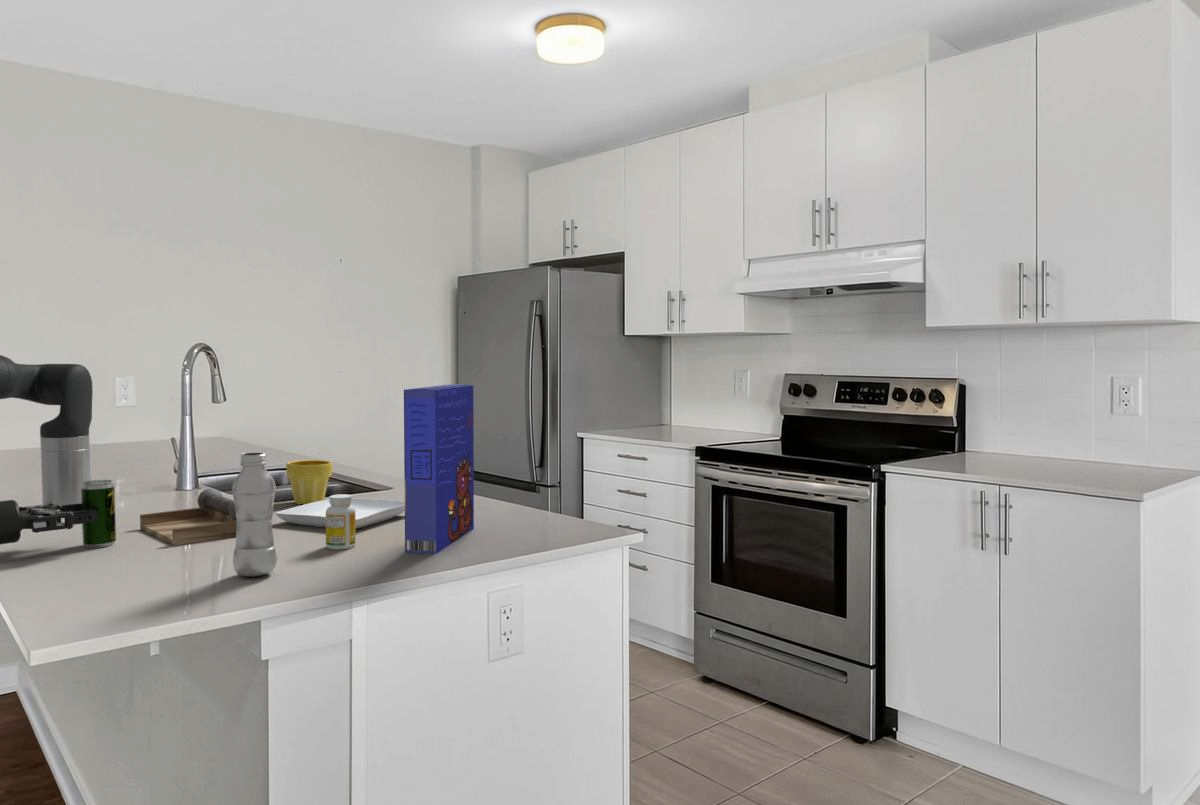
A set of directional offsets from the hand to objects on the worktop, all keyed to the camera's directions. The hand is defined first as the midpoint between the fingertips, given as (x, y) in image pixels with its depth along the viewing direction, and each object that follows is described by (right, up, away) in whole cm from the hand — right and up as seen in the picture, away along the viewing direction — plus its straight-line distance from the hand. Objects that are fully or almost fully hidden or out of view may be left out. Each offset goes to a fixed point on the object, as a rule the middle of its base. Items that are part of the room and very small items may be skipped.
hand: (90, 512), depth 158 cm
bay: (+13, -6, +13) cm, 19 cm away
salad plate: (+40, -6, +26) cm, 48 cm away
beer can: (+1, -7, +1) cm, 7 cm away
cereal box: (+64, -7, +8) cm, 65 cm away
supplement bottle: (+46, -7, +1) cm, 47 cm away
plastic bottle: (+38, -8, -19) cm, 44 cm away
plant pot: (+25, -4, +46) cm, 53 cm away
